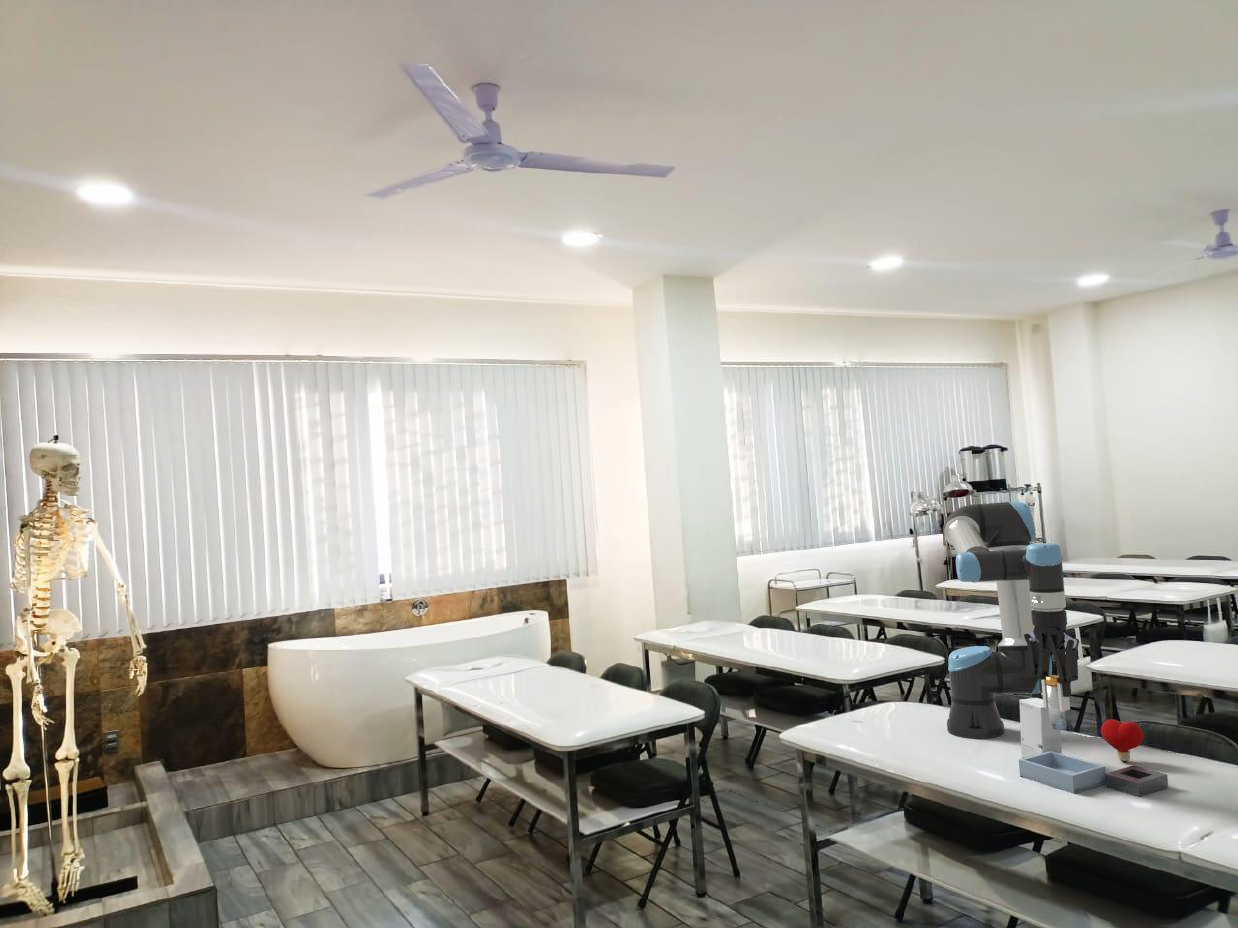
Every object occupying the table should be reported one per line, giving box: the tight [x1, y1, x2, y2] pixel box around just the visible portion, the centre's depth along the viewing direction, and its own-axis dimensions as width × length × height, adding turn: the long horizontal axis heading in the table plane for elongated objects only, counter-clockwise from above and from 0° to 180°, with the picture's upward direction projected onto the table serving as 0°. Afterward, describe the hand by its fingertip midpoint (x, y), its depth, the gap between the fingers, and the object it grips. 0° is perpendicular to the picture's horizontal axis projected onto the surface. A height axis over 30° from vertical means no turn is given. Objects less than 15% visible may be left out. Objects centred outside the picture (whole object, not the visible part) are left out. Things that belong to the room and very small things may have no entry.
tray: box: [1018, 751, 1107, 795], centre depth 206 cm, size 15×11×4 cm
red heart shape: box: [1100, 718, 1144, 763], centre depth 216 cm, size 9×7×10 cm
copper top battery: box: [1046, 674, 1068, 731], centre depth 207 cm, size 4×4×12 cm
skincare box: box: [1018, 697, 1063, 759], centre depth 221 cm, size 8×6×15 cm
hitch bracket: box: [1105, 764, 1169, 798], centre depth 199 cm, size 8×10×3 cm
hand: (1056, 708), depth 207 cm, fingers closed on copper top battery, 4 cm apart
